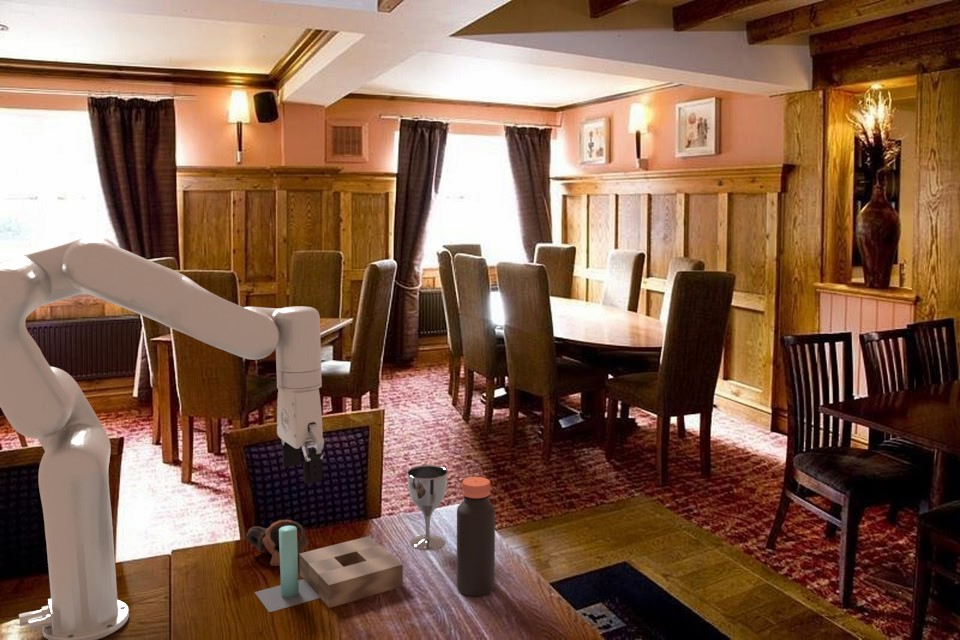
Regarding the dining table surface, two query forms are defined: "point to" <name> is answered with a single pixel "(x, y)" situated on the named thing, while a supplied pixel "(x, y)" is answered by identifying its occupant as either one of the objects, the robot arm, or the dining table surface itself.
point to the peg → (288, 561)
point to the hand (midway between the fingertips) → (302, 473)
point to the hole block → (350, 571)
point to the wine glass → (427, 500)
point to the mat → (276, 601)
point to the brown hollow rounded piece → (274, 538)
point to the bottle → (475, 539)
